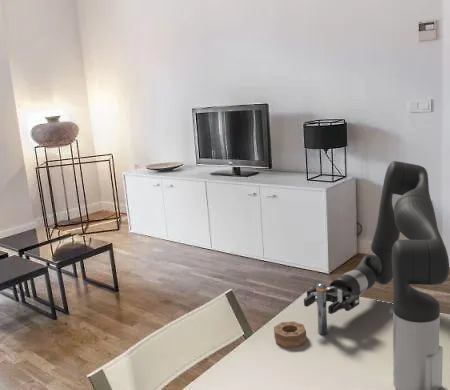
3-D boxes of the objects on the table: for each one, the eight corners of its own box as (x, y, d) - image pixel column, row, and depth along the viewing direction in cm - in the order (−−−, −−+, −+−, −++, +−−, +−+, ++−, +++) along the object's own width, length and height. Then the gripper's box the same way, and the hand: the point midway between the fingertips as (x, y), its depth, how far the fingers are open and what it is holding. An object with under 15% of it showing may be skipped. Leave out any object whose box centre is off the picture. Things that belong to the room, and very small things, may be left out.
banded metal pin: (329, 332, 133) (328, 283, 130) (324, 335, 132) (322, 287, 129) (321, 329, 135) (319, 281, 132) (316, 333, 133) (314, 284, 130)
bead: (311, 337, 131) (311, 327, 131) (293, 350, 126) (293, 339, 125) (287, 328, 137) (286, 319, 136) (269, 340, 131) (268, 330, 131)
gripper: (327, 269, 146) (294, 287, 134) (372, 279, 136) (340, 300, 124) (328, 292, 147) (295, 312, 136) (372, 304, 137) (341, 327, 126)
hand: (317, 306), depth 130 cm, fingers open, 7 cm apart
